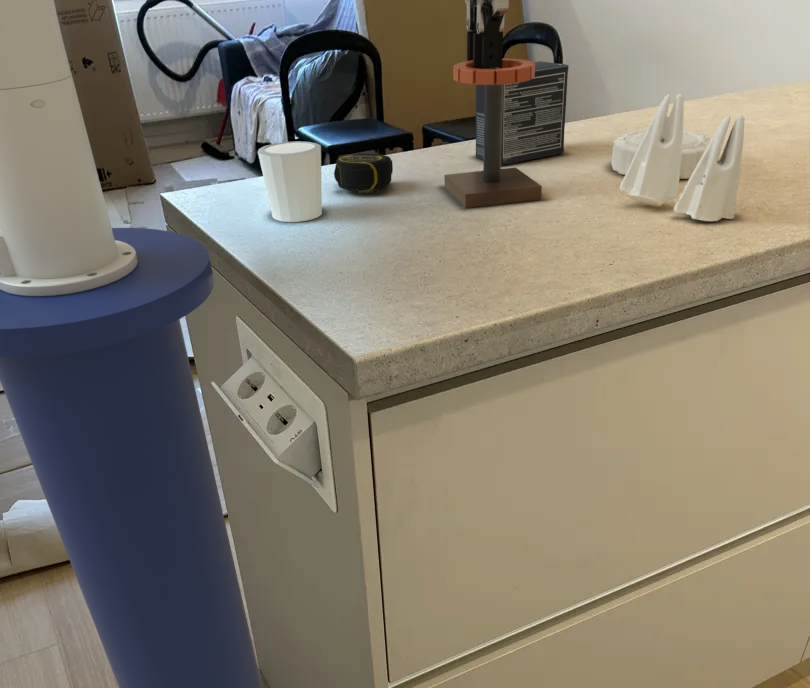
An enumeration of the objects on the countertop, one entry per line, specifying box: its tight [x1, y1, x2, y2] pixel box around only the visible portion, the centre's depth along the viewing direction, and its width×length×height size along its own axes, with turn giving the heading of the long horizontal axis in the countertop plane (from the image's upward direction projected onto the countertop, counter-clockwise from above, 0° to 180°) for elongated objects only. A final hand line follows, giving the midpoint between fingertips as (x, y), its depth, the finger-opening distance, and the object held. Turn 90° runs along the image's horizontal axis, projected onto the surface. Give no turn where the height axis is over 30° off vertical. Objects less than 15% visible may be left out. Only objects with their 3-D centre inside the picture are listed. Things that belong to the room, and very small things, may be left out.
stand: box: [444, 67, 543, 209], centre depth 90 cm, size 9×9×13 cm
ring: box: [452, 57, 535, 86], centre depth 87 cm, size 9×9×1 cm
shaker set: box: [619, 93, 745, 222], centre depth 82 cm, size 12×4×11 cm, turn 47°
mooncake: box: [610, 129, 712, 180], centre depth 99 cm, size 12×12×4 cm
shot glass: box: [257, 140, 323, 223], centre depth 89 cm, size 7×7×7 cm
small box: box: [475, 60, 570, 167], centre depth 105 cm, size 11×6×10 cm, turn 118°
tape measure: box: [333, 153, 394, 194], centre depth 97 cm, size 7×7×4 cm
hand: (484, 72), depth 90 cm, fingers closed on ring, 1 cm apart
